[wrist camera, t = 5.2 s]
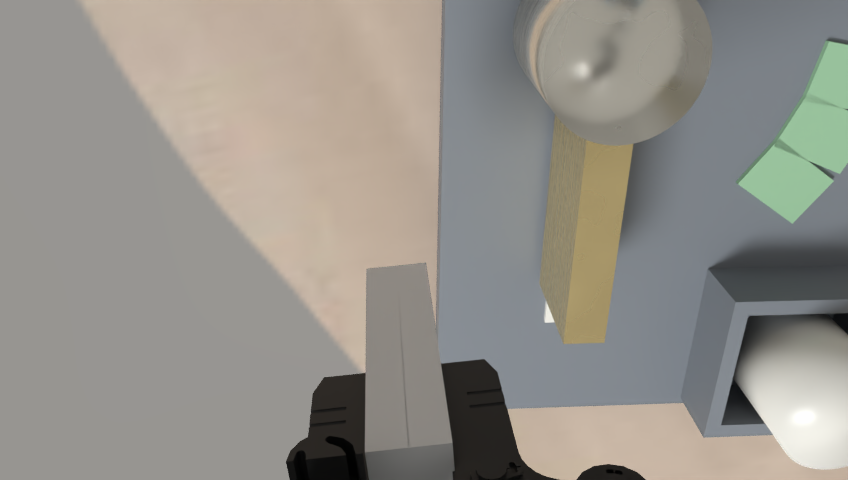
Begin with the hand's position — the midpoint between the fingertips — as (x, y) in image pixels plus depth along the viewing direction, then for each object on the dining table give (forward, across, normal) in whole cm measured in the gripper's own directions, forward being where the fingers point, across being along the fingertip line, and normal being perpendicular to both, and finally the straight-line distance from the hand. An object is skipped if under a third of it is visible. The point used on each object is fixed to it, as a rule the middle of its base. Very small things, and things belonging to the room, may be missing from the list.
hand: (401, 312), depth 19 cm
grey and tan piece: (+8, +6, +1) cm, 10 cm away
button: (+8, +15, -8) cm, 19 cm away
